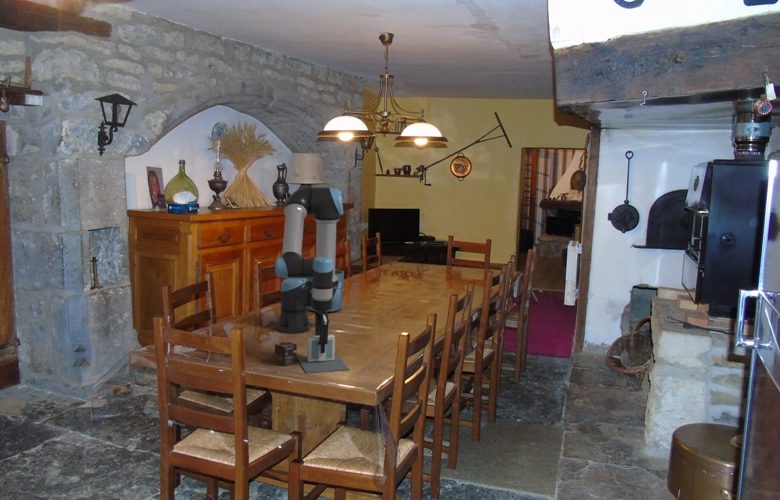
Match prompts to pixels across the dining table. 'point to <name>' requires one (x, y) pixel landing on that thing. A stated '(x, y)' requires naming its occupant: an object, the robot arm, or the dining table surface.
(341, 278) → the planter
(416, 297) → the dining table surface
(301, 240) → the robot arm
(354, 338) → the dining table surface
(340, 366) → the mat
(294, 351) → the box
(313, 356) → the light grey flat block
